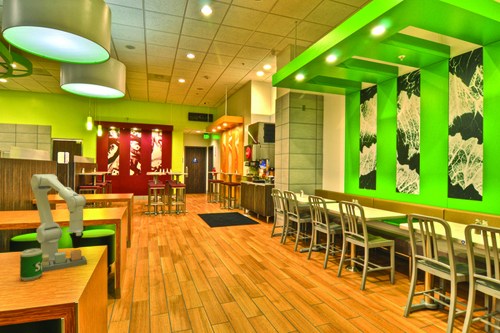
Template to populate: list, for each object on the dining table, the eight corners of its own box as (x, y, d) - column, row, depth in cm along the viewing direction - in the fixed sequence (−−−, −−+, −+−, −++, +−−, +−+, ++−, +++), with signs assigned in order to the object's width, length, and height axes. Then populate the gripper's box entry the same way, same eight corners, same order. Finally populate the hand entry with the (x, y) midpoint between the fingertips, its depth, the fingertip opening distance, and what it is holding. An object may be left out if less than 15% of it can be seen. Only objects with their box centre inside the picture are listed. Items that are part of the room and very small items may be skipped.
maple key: (37, 264, 129) (37, 256, 129) (48, 262, 132) (48, 254, 132) (38, 267, 126) (38, 258, 126) (48, 265, 129) (48, 256, 129)
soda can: (30, 282, 115) (30, 253, 115) (15, 280, 116) (15, 252, 116) (46, 275, 122) (47, 248, 122) (32, 274, 124) (33, 247, 124)
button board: (31, 269, 129) (31, 264, 129) (83, 259, 143) (83, 255, 143) (32, 274, 123) (32, 269, 123) (86, 264, 137) (86, 259, 137)
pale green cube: (54, 261, 133) (54, 253, 133) (64, 259, 136) (64, 251, 136) (55, 264, 130) (55, 255, 130) (65, 262, 133) (65, 253, 133)
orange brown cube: (70, 258, 138) (70, 250, 138) (79, 257, 140) (80, 249, 140) (71, 261, 134) (71, 252, 134) (81, 259, 137) (81, 251, 137)
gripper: (64, 218, 140) (64, 245, 140) (69, 223, 129) (68, 252, 129) (80, 217, 145) (80, 243, 145) (86, 221, 134) (86, 249, 134)
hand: (76, 247), depth 137 cm, fingers closed
